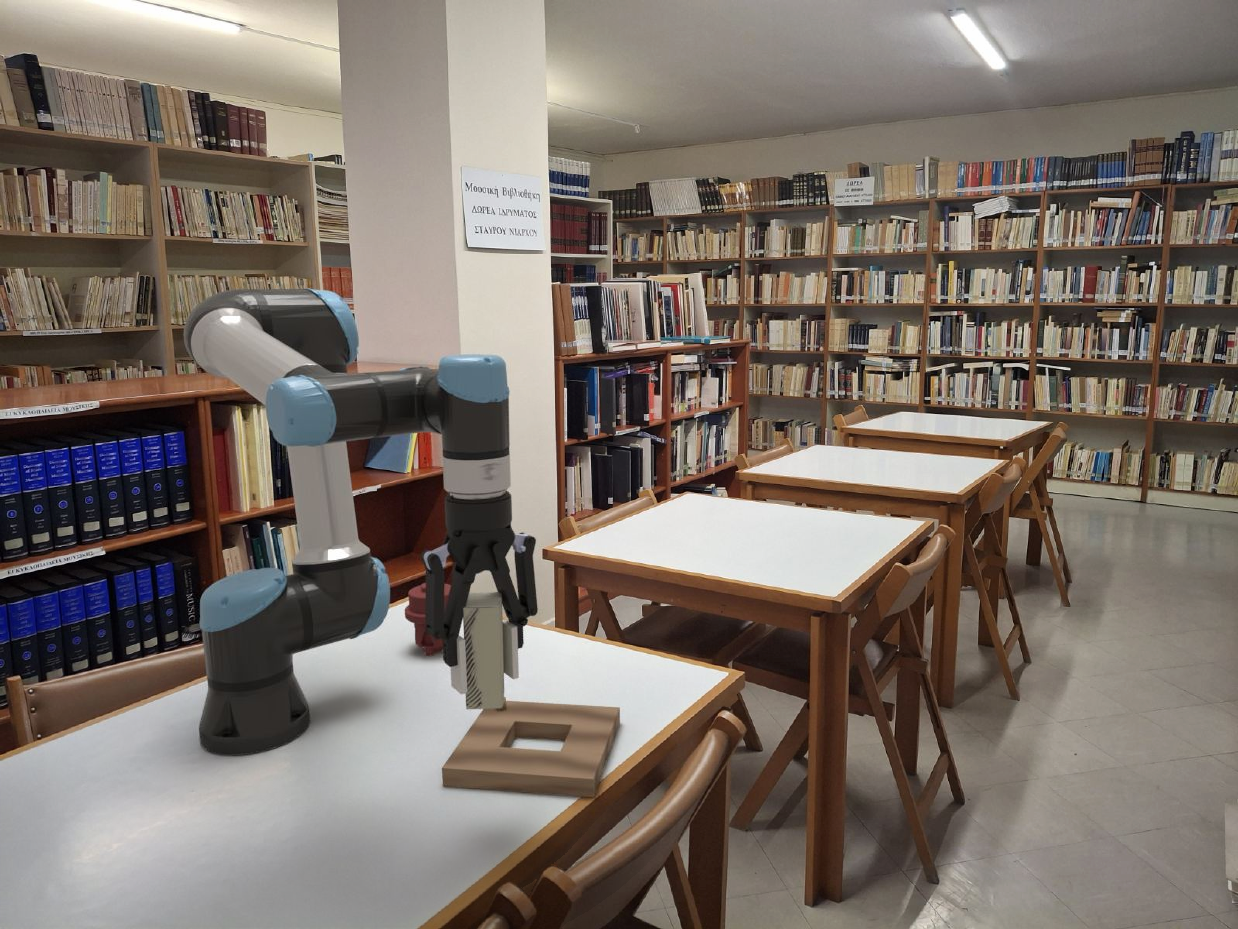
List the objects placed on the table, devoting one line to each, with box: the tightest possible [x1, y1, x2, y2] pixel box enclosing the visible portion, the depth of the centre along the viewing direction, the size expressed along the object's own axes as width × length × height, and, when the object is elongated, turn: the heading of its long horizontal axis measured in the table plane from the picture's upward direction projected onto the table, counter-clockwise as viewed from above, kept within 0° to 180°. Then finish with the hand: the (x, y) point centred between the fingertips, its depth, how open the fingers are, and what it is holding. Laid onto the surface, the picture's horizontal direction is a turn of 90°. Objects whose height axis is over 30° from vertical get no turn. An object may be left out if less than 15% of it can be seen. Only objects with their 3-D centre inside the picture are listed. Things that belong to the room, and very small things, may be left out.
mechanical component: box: [404, 582, 451, 657], centre depth 156 cm, size 12×10×10 cm
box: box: [462, 591, 505, 710], centre depth 101 cm, size 5×4×13 cm
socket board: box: [441, 696, 621, 798], centre depth 119 cm, size 20×20×4 cm
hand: (485, 681), depth 102 cm, fingers closed on box, 6 cm apart
